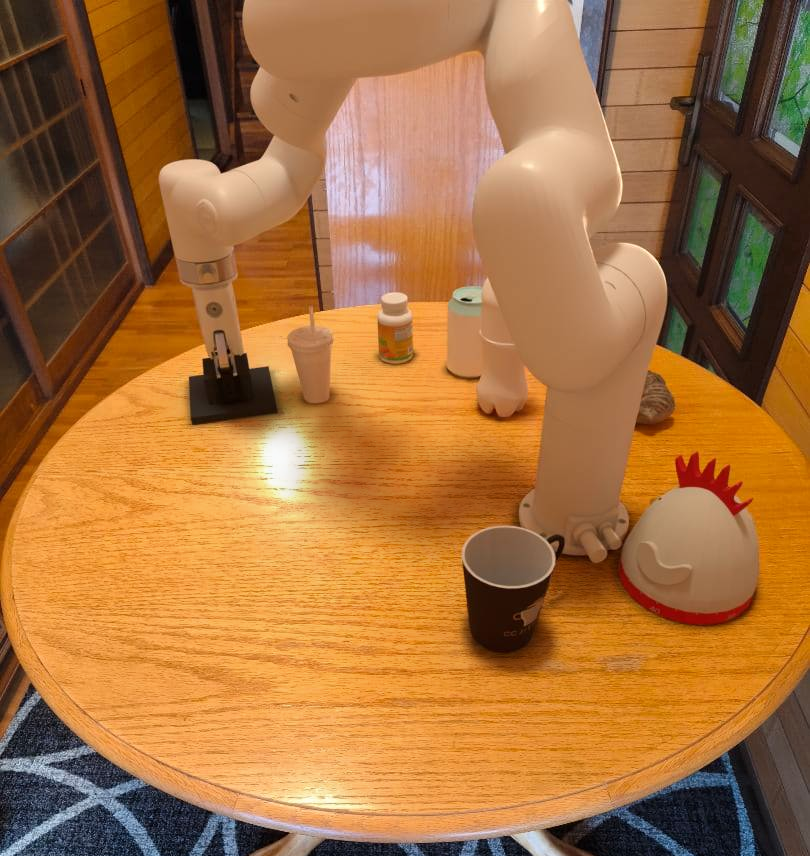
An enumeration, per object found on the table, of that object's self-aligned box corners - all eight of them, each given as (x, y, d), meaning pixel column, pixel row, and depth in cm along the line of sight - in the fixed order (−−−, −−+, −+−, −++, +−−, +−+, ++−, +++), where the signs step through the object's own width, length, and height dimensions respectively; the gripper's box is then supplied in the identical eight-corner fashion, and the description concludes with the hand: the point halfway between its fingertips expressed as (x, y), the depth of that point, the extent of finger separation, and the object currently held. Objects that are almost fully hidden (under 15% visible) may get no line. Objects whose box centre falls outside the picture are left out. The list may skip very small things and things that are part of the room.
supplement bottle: (373, 352, 122) (370, 294, 115) (404, 345, 123) (402, 287, 117) (387, 367, 118) (384, 307, 112) (418, 360, 120) (418, 300, 113)
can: (494, 380, 114) (499, 303, 107) (447, 380, 115) (449, 304, 107) (490, 357, 120) (494, 283, 112) (445, 358, 120) (446, 284, 112)
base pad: (277, 413, 109) (275, 393, 107) (192, 425, 107) (187, 405, 105) (269, 373, 118) (266, 354, 115) (190, 383, 116) (185, 364, 113)
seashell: (636, 444, 102) (680, 422, 105) (645, 400, 97) (690, 379, 100) (589, 410, 108) (631, 390, 111) (595, 368, 103) (639, 348, 105)
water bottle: (467, 414, 107) (474, 233, 91) (487, 390, 112) (497, 215, 96) (515, 426, 105) (531, 243, 88) (533, 401, 110) (552, 223, 93)
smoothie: (331, 410, 109) (322, 317, 100) (288, 406, 110) (276, 314, 101) (343, 387, 114) (335, 297, 104) (302, 384, 115) (291, 294, 106)
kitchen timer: (667, 519, 89) (697, 408, 79) (777, 579, 81) (826, 464, 72) (592, 574, 83) (614, 460, 73) (704, 646, 75) (747, 529, 65)
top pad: (254, 398, 110) (250, 373, 107) (209, 404, 108) (203, 379, 106) (250, 377, 114) (246, 352, 112) (207, 382, 113) (202, 358, 111)
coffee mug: (473, 669, 73) (477, 596, 66) (448, 606, 79) (450, 533, 73) (586, 646, 75) (601, 572, 68) (553, 586, 81) (564, 514, 75)
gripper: (241, 289, 93) (261, 415, 105) (231, 240, 106) (251, 357, 118) (178, 296, 92) (206, 422, 104) (176, 245, 105) (202, 363, 117)
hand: (230, 386), depth 111 cm, fingers closed on top pad, 6 cm apart
